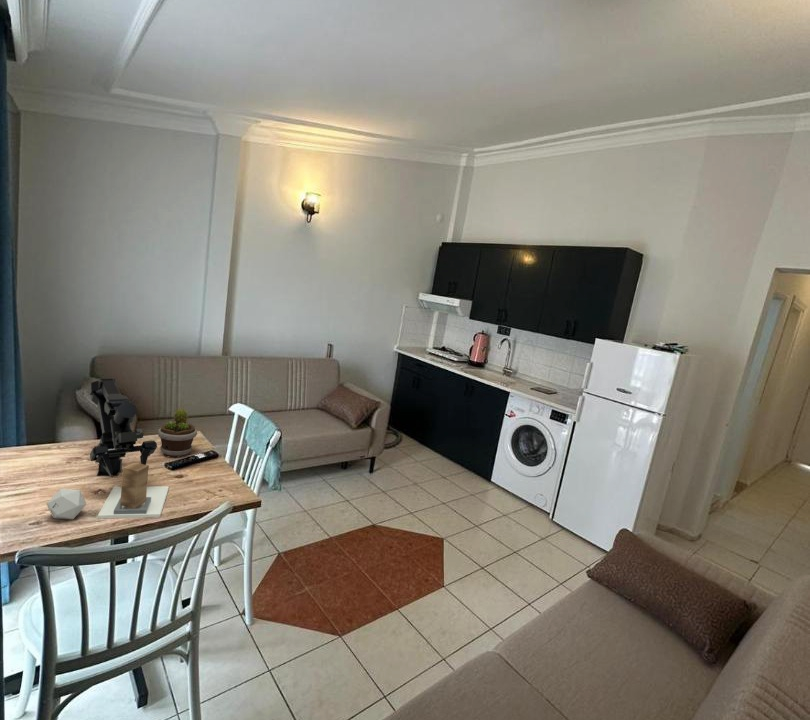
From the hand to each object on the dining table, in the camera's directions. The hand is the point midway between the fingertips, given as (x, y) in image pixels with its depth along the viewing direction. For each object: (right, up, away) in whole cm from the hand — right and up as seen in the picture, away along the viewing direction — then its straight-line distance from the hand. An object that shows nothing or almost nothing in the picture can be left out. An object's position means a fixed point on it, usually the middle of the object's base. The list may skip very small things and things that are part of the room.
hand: (128, 474), depth 151 cm
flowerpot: (-6, -2, +43) cm, 44 cm away
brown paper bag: (+4, -8, -5) cm, 10 cm away
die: (-11, -10, -13) cm, 19 cm away
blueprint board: (+2, -9, 0) cm, 10 cm away
